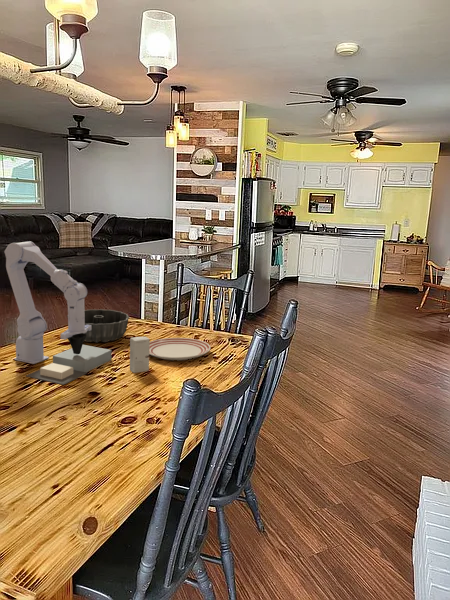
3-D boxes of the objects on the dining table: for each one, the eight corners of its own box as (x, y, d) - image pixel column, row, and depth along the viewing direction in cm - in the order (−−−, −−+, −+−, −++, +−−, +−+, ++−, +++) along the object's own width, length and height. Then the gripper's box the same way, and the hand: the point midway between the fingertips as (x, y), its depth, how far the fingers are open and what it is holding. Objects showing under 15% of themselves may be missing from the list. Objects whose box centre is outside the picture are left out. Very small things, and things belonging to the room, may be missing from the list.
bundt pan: (138, 333, 217) (138, 312, 215) (112, 349, 192) (112, 326, 190) (87, 327, 222) (86, 306, 220) (55, 342, 197) (54, 319, 195)
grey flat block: (53, 366, 170) (52, 355, 169) (81, 354, 184) (81, 344, 183) (84, 373, 165) (84, 362, 164) (111, 359, 179) (111, 350, 178)
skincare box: (133, 373, 167) (134, 341, 164) (129, 369, 170) (129, 337, 168) (149, 370, 170) (150, 338, 168) (144, 366, 174) (145, 335, 171)
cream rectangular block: (52, 362, 165) (52, 369, 166) (40, 368, 160) (40, 374, 160) (73, 367, 162) (73, 373, 163) (61, 372, 157) (61, 379, 157)
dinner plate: (129, 357, 184) (129, 349, 183) (164, 340, 209) (164, 333, 208) (192, 369, 174) (192, 361, 173) (220, 350, 199) (220, 342, 198)
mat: (25, 376, 159) (25, 375, 159) (50, 365, 170) (50, 365, 170) (63, 385, 153) (63, 384, 153) (86, 373, 164) (86, 372, 164)
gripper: (71, 323, 159) (72, 361, 162) (98, 314, 173) (98, 349, 175) (55, 320, 162) (56, 357, 165) (82, 312, 175) (83, 346, 178)
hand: (76, 353), depth 170 cm, fingers closed
